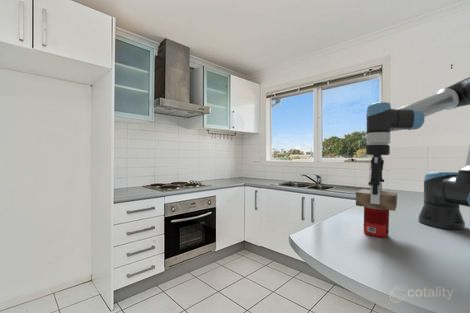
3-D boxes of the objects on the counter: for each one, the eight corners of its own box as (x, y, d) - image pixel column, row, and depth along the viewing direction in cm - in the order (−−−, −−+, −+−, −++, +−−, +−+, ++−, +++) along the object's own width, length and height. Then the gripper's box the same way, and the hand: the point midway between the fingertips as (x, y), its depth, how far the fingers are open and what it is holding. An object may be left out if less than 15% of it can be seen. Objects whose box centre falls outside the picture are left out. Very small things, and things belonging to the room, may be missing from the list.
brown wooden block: (396, 205, 85) (397, 192, 85) (395, 210, 76) (395, 196, 76) (361, 201, 93) (361, 189, 93) (355, 205, 84) (356, 192, 84)
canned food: (392, 239, 80) (393, 208, 80) (367, 237, 82) (368, 207, 82) (382, 232, 88) (383, 204, 88) (360, 230, 89) (361, 202, 89)
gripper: (369, 146, 97) (368, 195, 97) (362, 142, 77) (360, 204, 77) (390, 145, 92) (389, 197, 92) (388, 142, 72) (387, 208, 72)
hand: (376, 200), depth 85 cm, fingers open, 13 cm apart
